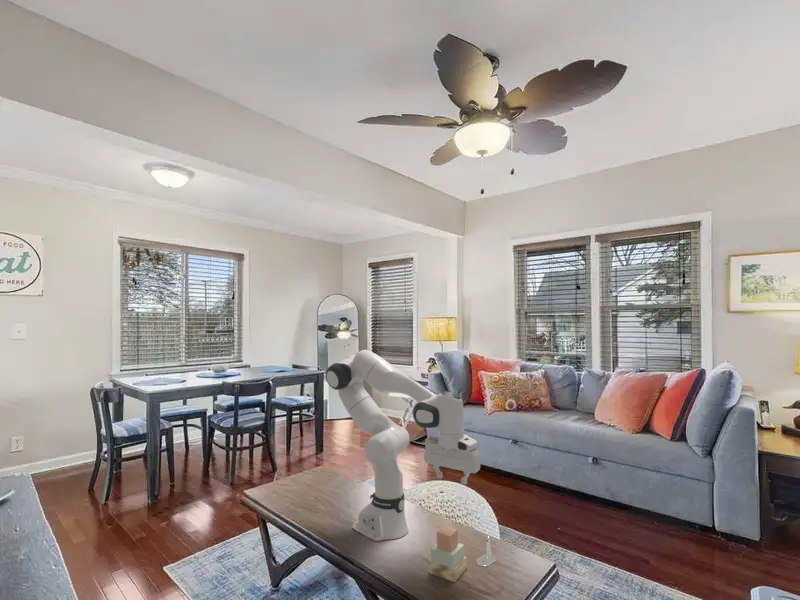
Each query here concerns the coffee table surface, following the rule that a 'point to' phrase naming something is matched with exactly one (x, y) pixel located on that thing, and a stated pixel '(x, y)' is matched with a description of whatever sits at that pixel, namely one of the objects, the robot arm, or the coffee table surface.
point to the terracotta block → (447, 538)
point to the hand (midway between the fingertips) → (451, 480)
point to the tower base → (449, 570)
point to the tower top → (447, 555)
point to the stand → (486, 555)
